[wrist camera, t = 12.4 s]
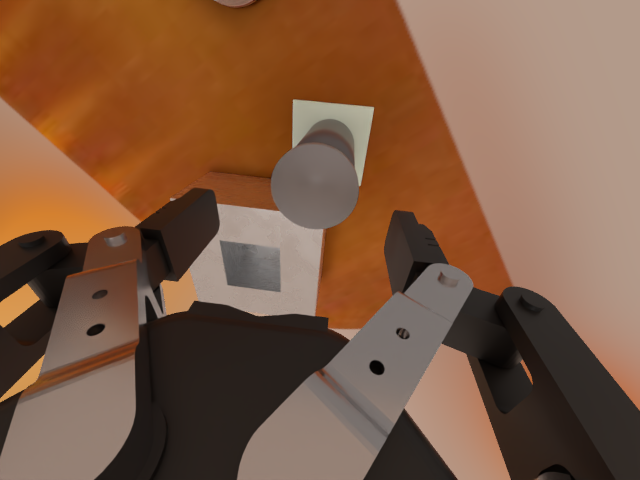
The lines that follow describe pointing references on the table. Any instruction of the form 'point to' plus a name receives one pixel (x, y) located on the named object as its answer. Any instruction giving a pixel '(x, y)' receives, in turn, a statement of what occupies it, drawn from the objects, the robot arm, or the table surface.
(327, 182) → the gray cylinder
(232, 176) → the housing
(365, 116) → the mat
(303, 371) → the robot arm
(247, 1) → the soda can
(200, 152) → the table surface
